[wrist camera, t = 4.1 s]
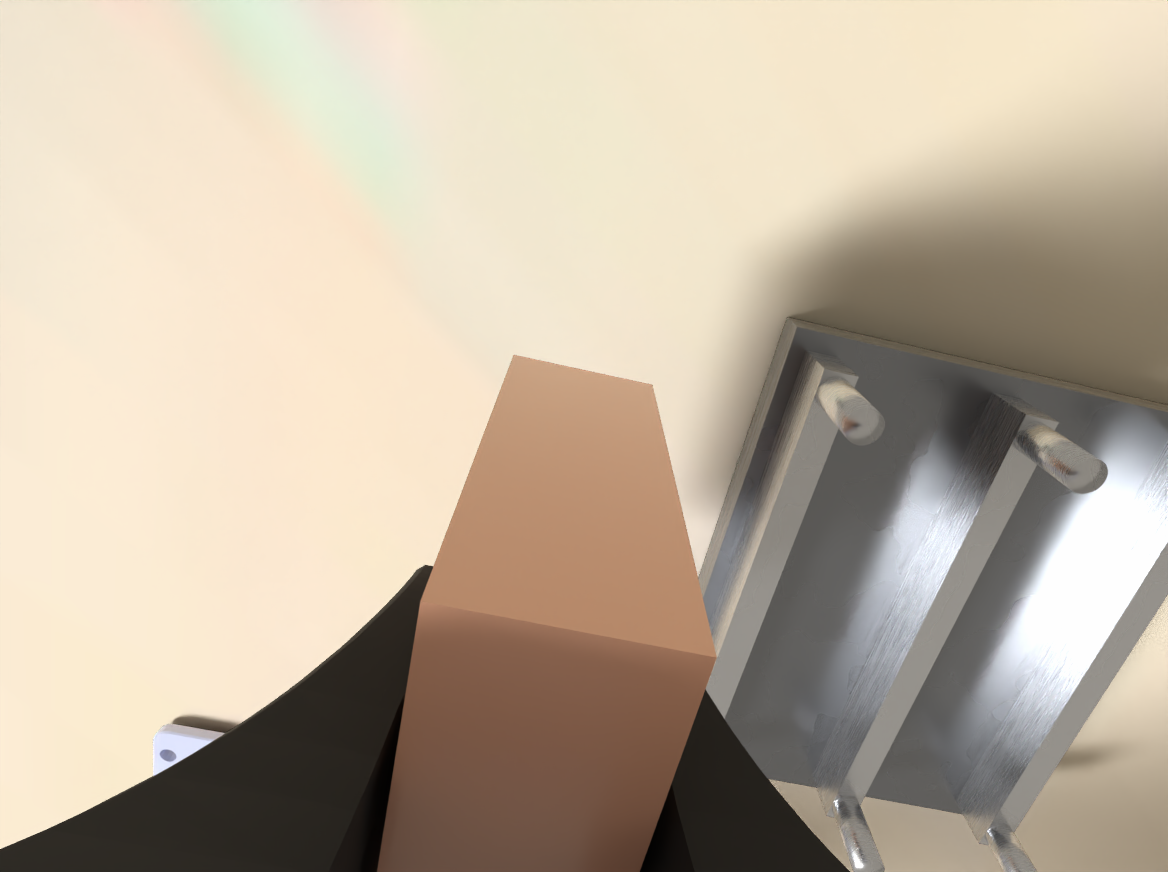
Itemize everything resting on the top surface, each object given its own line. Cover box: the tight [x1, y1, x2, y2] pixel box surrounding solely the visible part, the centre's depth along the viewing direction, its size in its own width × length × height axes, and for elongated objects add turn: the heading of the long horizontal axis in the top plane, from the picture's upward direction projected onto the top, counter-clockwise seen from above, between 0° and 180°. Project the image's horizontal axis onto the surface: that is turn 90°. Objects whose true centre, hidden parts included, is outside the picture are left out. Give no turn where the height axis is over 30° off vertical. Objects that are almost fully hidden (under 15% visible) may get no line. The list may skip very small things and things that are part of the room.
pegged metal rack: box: [698, 317, 1168, 872], centre depth 19 cm, size 14×11×4 cm
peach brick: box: [377, 355, 717, 872], centre depth 10 cm, size 7×2×7 cm, turn 168°
